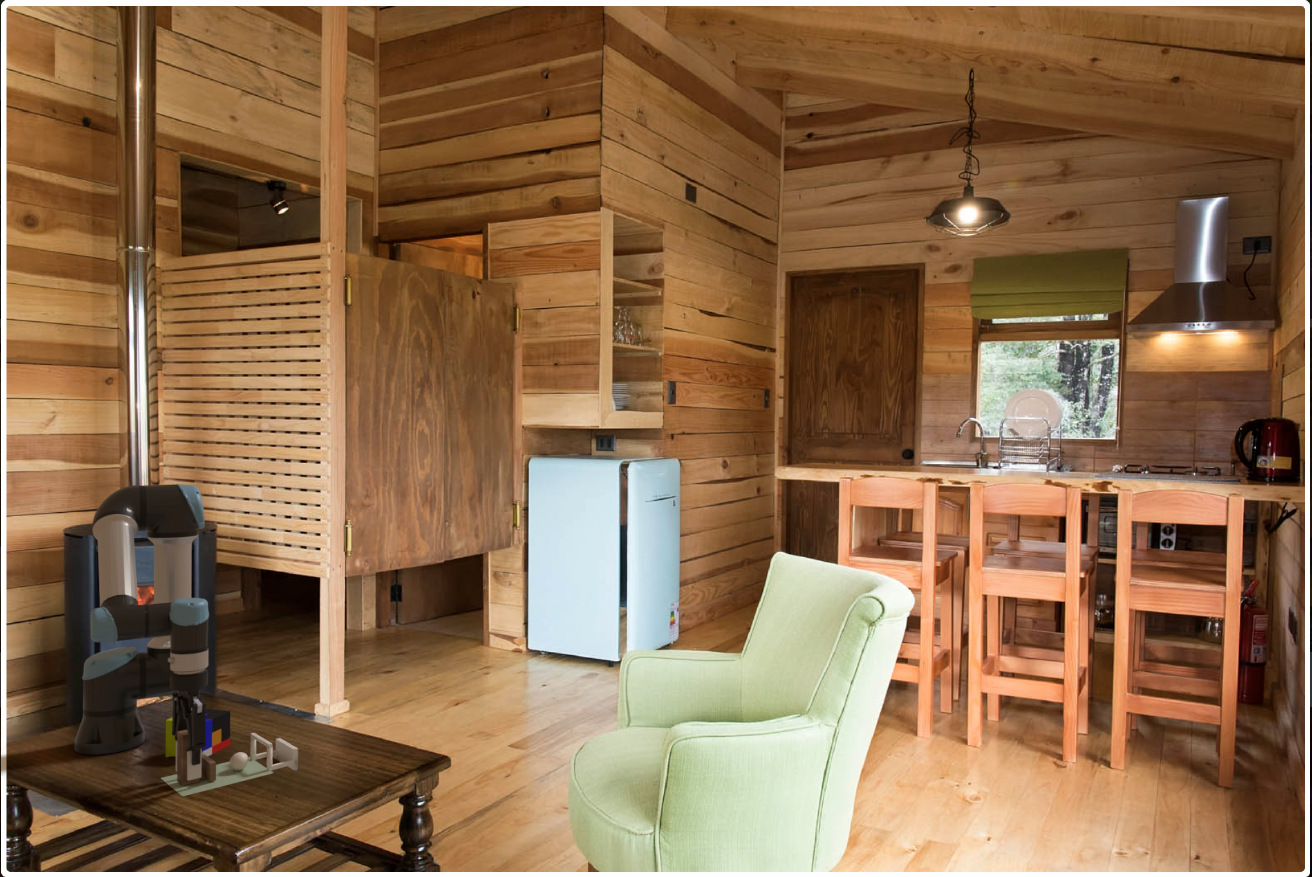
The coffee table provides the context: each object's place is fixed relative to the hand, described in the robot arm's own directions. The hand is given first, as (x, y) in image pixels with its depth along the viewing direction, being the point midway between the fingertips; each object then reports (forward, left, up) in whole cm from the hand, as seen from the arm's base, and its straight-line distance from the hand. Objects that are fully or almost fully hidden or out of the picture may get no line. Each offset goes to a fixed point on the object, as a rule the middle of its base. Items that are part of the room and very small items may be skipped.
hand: (188, 773), depth 205 cm
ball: (0, +11, 0) cm, 11 cm away
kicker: (0, +1, -2) cm, 2 cm away
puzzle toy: (-20, +9, -4) cm, 22 cm away
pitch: (0, +10, -3) cm, 10 cm away
